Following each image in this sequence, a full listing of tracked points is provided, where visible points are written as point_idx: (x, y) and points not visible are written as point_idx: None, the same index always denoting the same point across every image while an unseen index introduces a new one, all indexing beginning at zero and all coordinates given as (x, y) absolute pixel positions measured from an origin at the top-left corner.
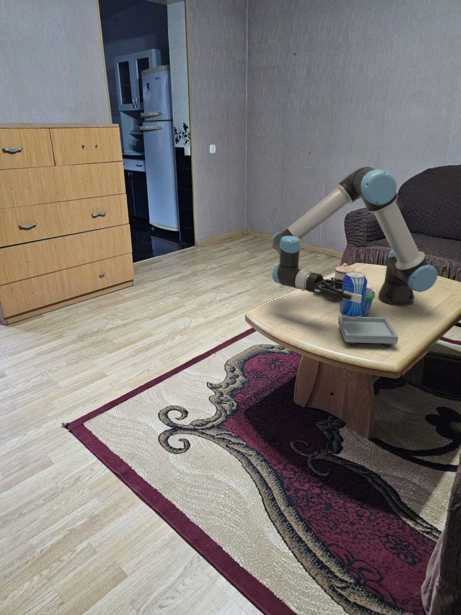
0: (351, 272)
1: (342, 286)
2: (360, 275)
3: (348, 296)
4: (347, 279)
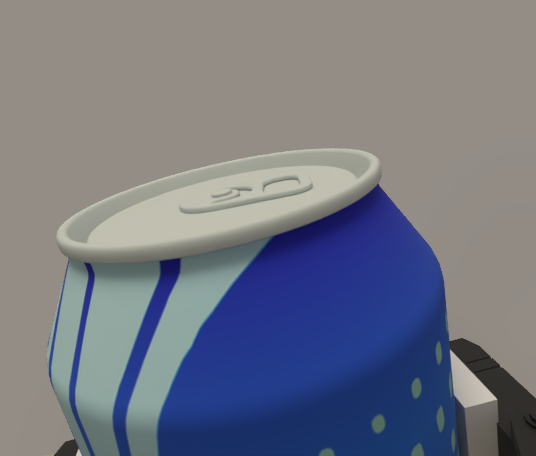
0: (118, 264)
1: (433, 446)
2: (203, 189)
3: (480, 355)
4: (409, 227)
